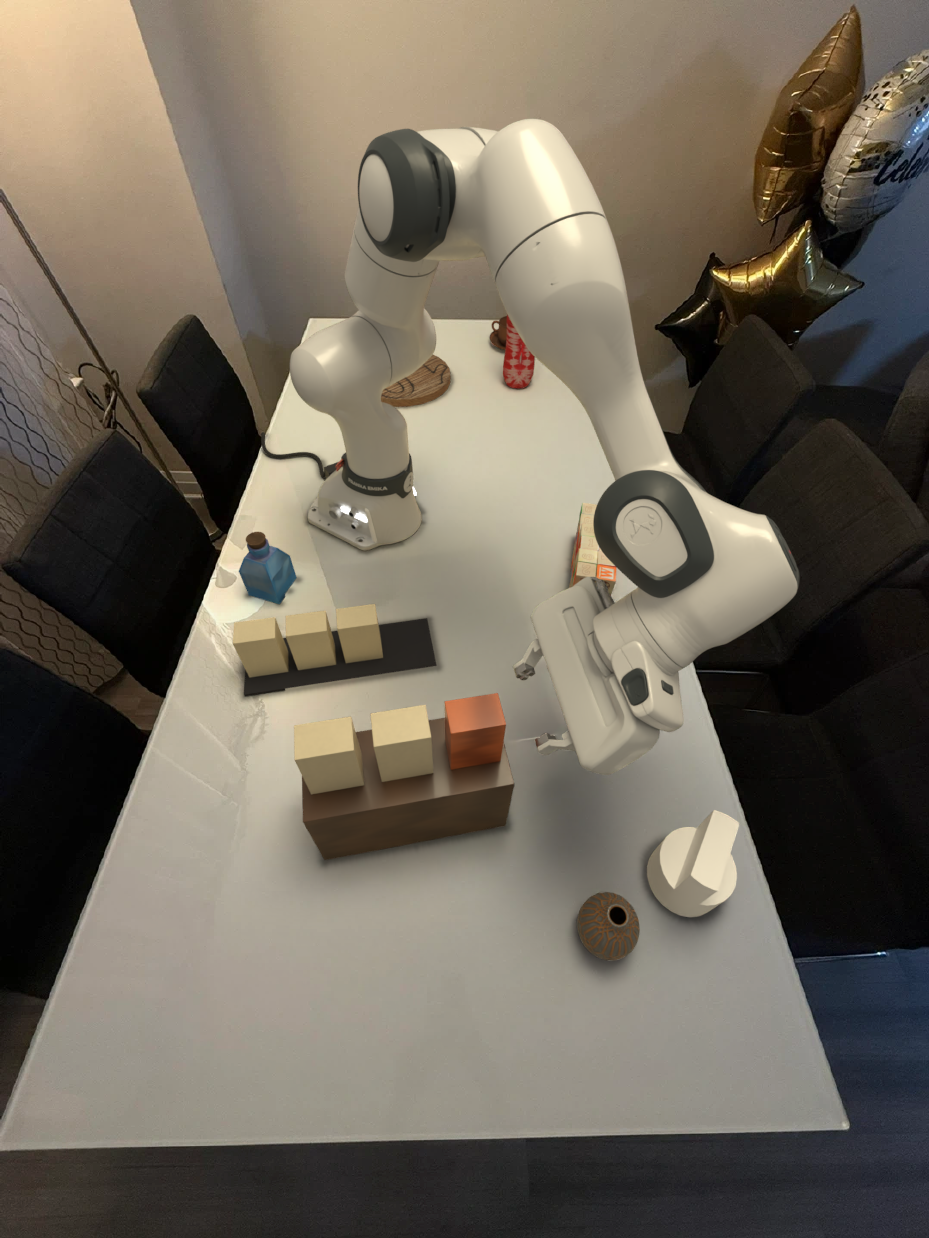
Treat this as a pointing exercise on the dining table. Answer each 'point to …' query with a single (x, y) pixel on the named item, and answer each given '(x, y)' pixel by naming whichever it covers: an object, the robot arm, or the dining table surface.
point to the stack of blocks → (590, 553)
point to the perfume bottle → (266, 569)
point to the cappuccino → (499, 333)
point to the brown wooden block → (392, 784)
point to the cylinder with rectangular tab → (695, 866)
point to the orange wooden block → (474, 730)
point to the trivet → (419, 385)
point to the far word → (328, 648)
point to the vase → (608, 926)
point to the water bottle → (517, 360)
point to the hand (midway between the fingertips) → (528, 709)
